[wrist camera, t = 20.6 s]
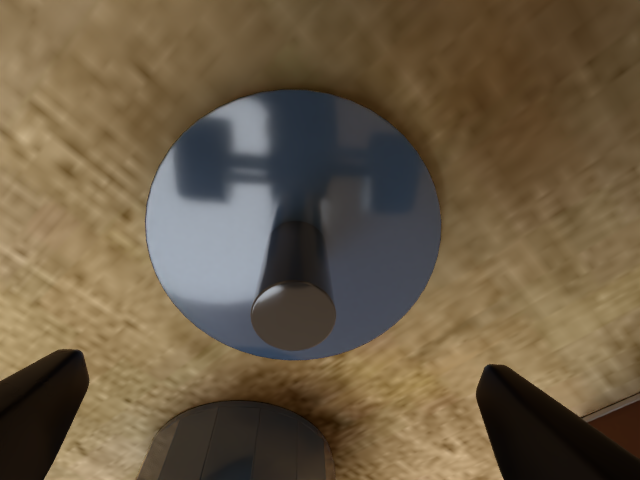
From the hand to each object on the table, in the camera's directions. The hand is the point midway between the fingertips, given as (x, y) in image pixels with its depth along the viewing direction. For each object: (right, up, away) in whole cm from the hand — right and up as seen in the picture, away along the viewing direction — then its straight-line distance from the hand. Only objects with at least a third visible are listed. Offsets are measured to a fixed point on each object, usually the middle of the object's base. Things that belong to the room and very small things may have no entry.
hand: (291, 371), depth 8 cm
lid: (0, +3, +6) cm, 7 cm away
